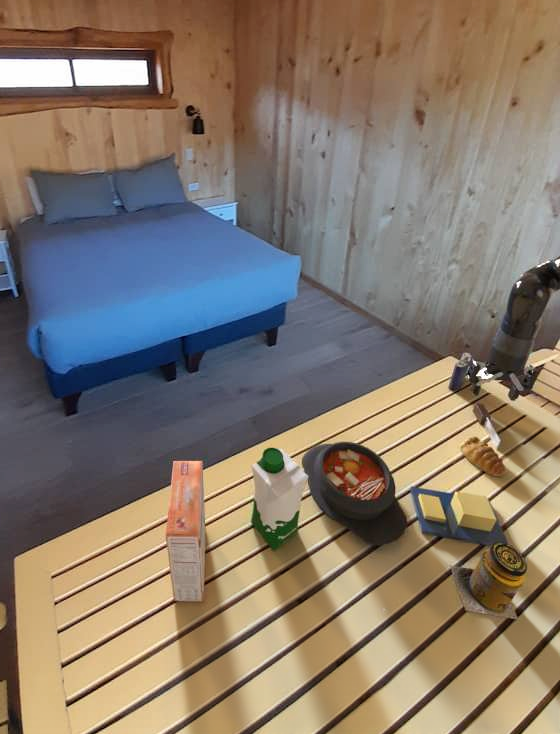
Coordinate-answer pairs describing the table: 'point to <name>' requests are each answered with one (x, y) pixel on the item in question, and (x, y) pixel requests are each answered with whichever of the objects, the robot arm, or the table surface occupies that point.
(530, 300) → the robot arm
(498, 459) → the pastry
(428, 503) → the butter pat
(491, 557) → the condiment
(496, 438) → the knife
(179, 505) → the cracker box
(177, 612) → the table surface
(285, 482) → the milk carton
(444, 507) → the butter dish
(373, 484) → the casserole
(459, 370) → the flask
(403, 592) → the table surface
